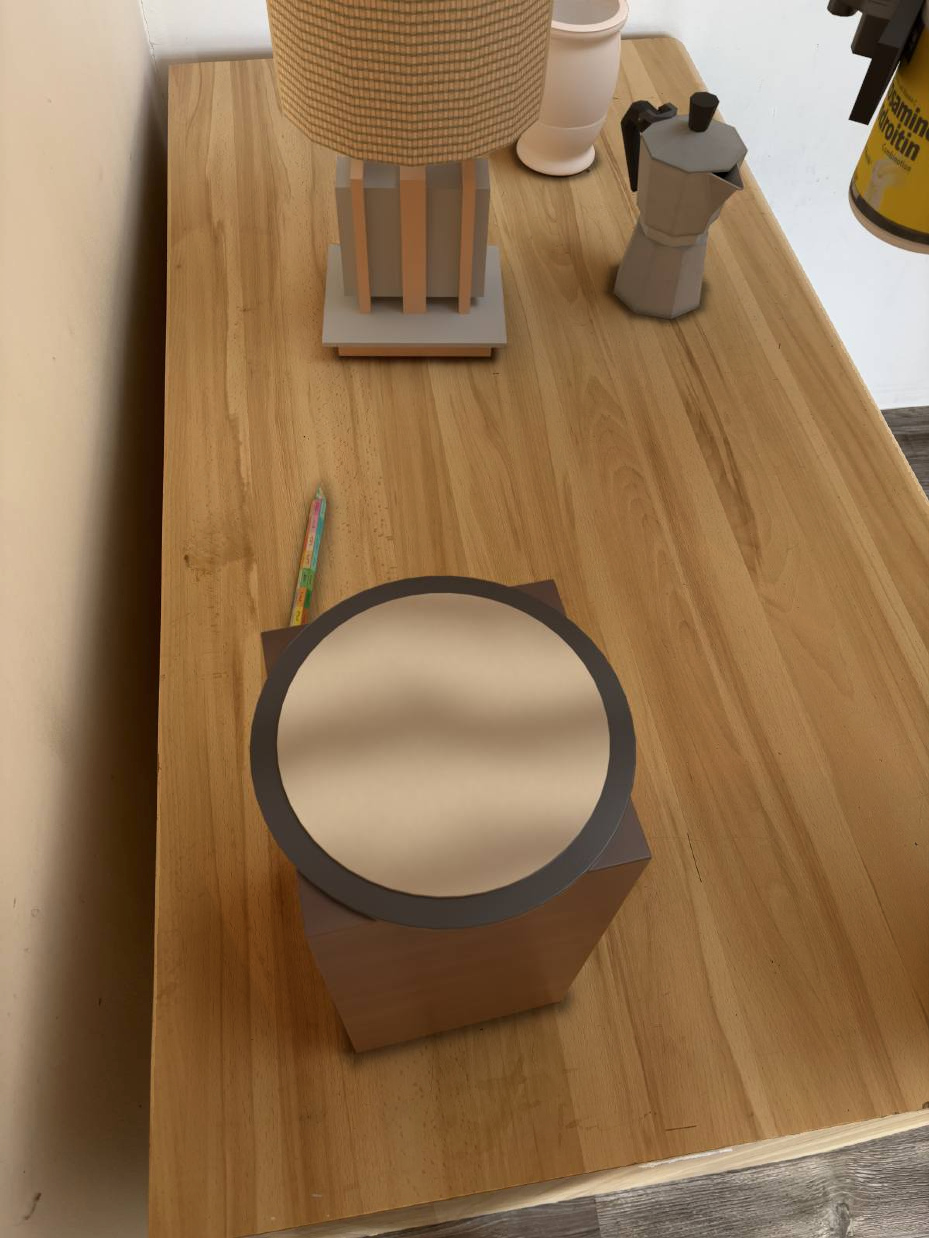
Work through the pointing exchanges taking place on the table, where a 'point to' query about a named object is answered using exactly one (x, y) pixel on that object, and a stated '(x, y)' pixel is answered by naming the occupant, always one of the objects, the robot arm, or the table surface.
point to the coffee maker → (674, 200)
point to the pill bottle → (899, 154)
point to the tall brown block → (447, 799)
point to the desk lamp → (412, 157)
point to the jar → (575, 85)
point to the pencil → (309, 559)
